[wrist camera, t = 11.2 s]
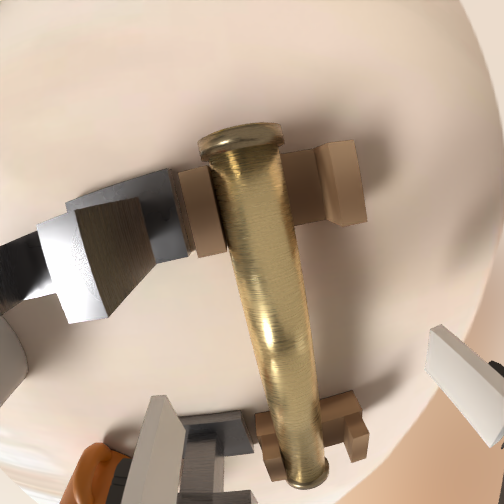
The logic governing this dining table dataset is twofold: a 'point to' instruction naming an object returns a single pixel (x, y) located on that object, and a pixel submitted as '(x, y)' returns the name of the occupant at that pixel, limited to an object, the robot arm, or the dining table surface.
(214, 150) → the rail
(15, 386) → the cup
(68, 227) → the post
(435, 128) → the dining table surface
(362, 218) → the rest
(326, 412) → the rest
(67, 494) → the mug
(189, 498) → the post
